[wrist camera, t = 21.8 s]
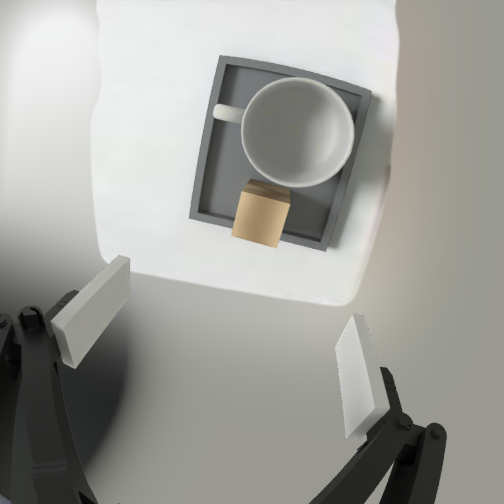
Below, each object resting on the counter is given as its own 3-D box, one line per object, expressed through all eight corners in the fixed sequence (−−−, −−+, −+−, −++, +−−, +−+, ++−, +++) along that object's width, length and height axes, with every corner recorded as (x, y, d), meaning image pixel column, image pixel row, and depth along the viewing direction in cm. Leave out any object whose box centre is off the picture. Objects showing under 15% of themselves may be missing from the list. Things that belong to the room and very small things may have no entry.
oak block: (241, 215, 37) (231, 235, 31) (250, 178, 35) (241, 191, 29) (278, 225, 37) (276, 248, 31) (289, 189, 35) (290, 204, 29)
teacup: (355, 115, 30) (374, 113, 23) (314, 190, 35) (320, 208, 27) (250, 62, 29) (239, 45, 22) (212, 140, 33) (191, 144, 26)
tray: (222, 58, 29) (219, 55, 28) (367, 92, 29) (371, 91, 27) (193, 214, 38) (188, 218, 37) (324, 245, 38) (325, 251, 36)
